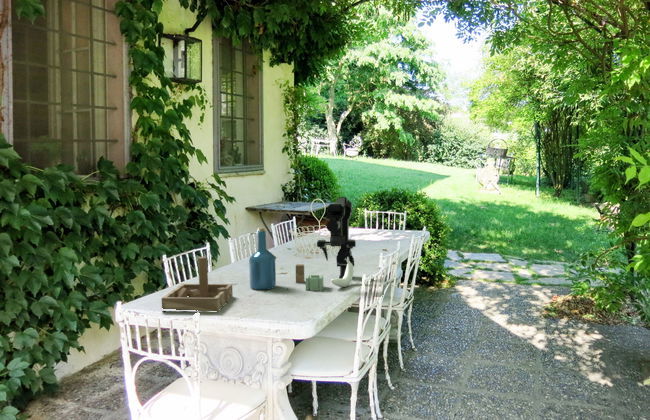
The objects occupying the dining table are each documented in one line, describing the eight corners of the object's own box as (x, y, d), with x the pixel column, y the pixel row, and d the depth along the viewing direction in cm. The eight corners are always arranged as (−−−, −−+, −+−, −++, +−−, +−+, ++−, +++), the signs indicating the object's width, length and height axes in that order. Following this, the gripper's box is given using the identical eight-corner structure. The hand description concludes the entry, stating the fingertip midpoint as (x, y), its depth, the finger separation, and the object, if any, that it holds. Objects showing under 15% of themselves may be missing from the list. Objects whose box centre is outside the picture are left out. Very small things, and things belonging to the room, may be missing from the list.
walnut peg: (296, 281, 302) (296, 264, 301) (304, 281, 301) (304, 264, 301) (295, 283, 298) (295, 265, 297) (303, 283, 297) (303, 265, 297)
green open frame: (307, 286, 289) (307, 274, 289) (323, 286, 289) (323, 274, 288) (305, 290, 281) (305, 278, 281) (322, 290, 281) (321, 278, 280)
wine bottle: (251, 291, 281) (250, 230, 278) (248, 285, 294) (246, 227, 291) (279, 289, 285) (278, 229, 282) (274, 283, 297) (273, 225, 294)
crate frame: (182, 296, 273) (182, 283, 272) (232, 296, 271) (232, 284, 270) (162, 311, 246) (161, 298, 245) (217, 312, 244) (216, 298, 243)
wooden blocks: (169, 305, 257) (167, 261, 256) (207, 297, 271) (205, 255, 269) (190, 312, 245) (187, 266, 243) (228, 303, 259) (226, 259, 257)
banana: (330, 290, 281) (330, 260, 280) (347, 282, 298) (346, 254, 297) (339, 291, 279) (339, 261, 278) (355, 283, 296) (355, 255, 294)
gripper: (315, 231, 274) (316, 264, 275) (355, 231, 272) (355, 263, 274) (317, 228, 285) (318, 259, 286) (355, 228, 283) (355, 259, 285)
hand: (336, 260), depth 283 cm, fingers open, 9 cm apart
